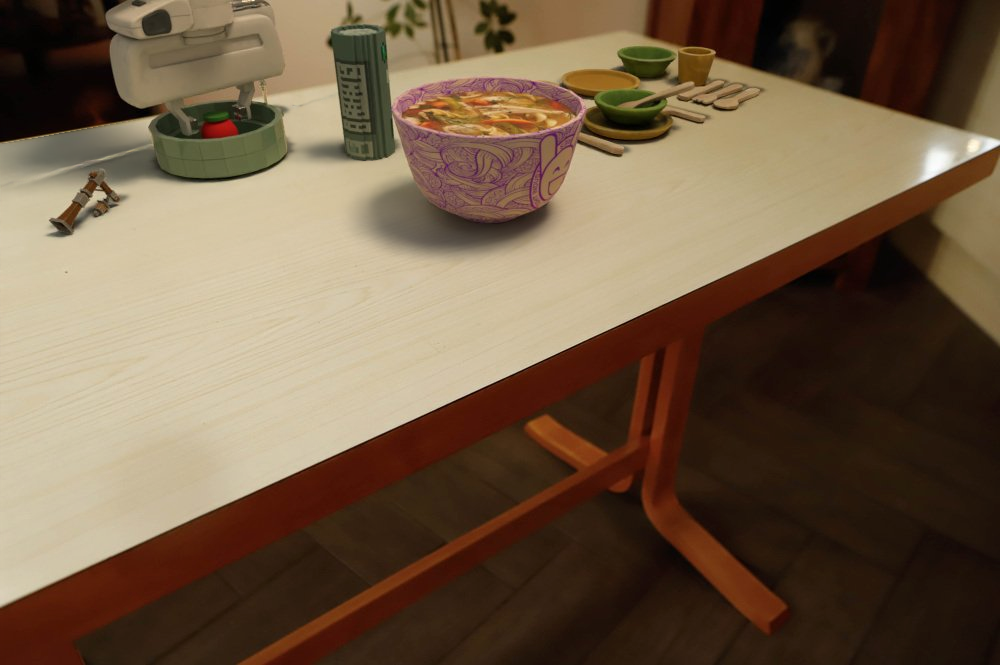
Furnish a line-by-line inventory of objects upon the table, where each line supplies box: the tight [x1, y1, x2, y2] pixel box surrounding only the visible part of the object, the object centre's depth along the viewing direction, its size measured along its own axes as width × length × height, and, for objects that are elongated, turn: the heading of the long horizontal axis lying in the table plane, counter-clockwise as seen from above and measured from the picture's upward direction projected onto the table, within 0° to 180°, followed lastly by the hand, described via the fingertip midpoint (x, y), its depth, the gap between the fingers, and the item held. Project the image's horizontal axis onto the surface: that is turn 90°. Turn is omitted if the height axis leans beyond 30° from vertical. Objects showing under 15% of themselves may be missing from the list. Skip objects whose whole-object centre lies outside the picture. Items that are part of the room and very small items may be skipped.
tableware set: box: [534, 45, 761, 155], centre depth 110 cm, size 41×28×6 cm
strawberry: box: [201, 110, 238, 139], centre depth 91 cm, size 4×4×5 cm
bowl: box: [147, 99, 288, 179], centre depth 91 cm, size 16×16×5 cm
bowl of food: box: [391, 76, 588, 224], centre depth 77 cm, size 20×20×12 cm
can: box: [330, 23, 396, 161], centre depth 90 cm, size 6×6×15 cm
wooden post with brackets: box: [48, 168, 121, 235], centre depth 77 cm, size 2×8×4 cm, turn 160°
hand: (217, 126), depth 90 cm, fingers open, 6 cm apart
